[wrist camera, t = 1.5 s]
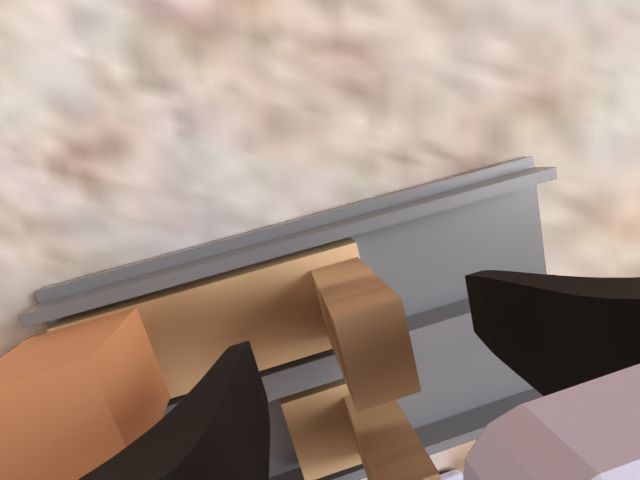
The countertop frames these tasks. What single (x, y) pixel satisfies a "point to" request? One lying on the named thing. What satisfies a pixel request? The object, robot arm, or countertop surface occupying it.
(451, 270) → the lane board
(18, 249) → the countertop surface
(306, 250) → the oak strip
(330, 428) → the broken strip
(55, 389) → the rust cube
